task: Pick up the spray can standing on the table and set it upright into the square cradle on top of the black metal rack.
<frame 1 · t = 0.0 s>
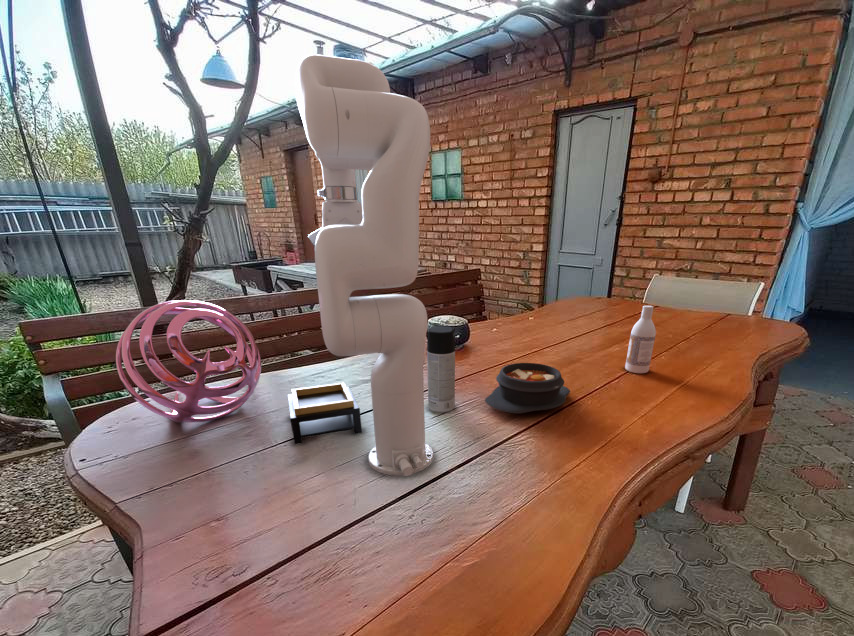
hand: (347, 269, 109), 31 cm above the table, tool pointing down, fingers open, 9 cm apart
rack: (325, 425, 97), on the table
bath foam: (636, 371, 133), on the table
spray can: (441, 408, 106), on the table
pink lattice ball: (209, 415, 101), on the table
casserole: (528, 402, 109), on the table
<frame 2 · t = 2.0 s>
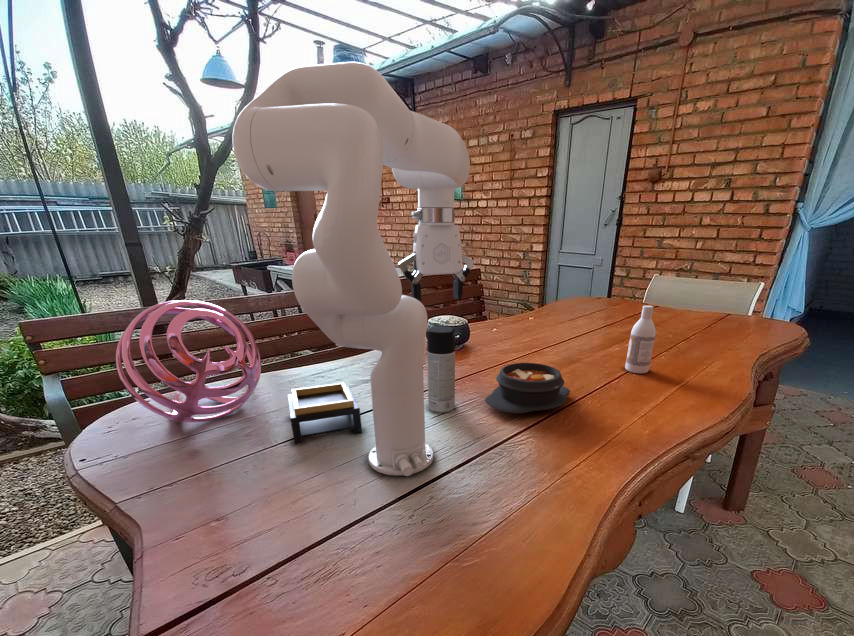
hand: (437, 300, 96), 26 cm above the table, tool pointing down, fingers open, 9 cm apart
nothing on the table moved.
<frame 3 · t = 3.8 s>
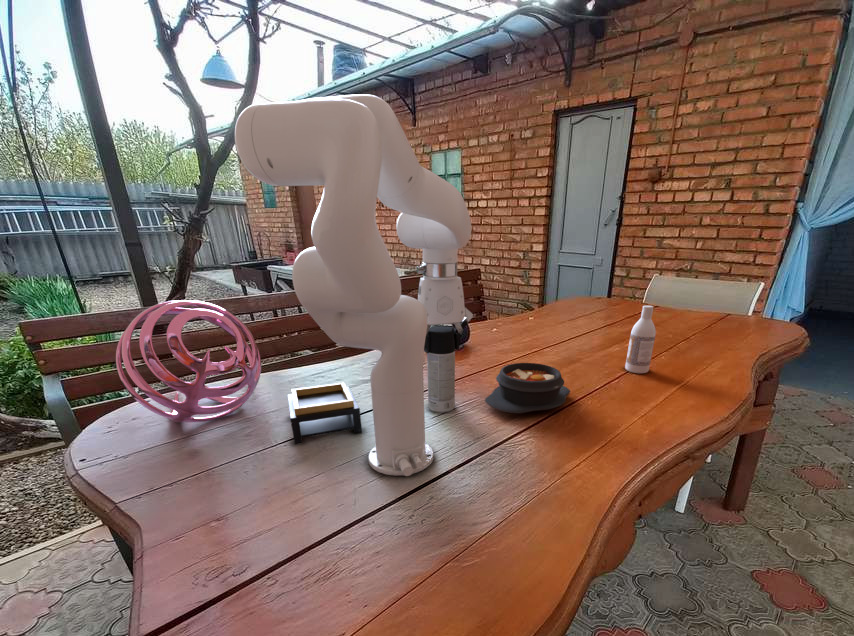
hand: (440, 349, 100), 15 cm above the table, tool pointing down, fingers closed on spray can, 6 cm apart
spray can: (441, 408, 106), on the table, touching gripper
everything else where it was.
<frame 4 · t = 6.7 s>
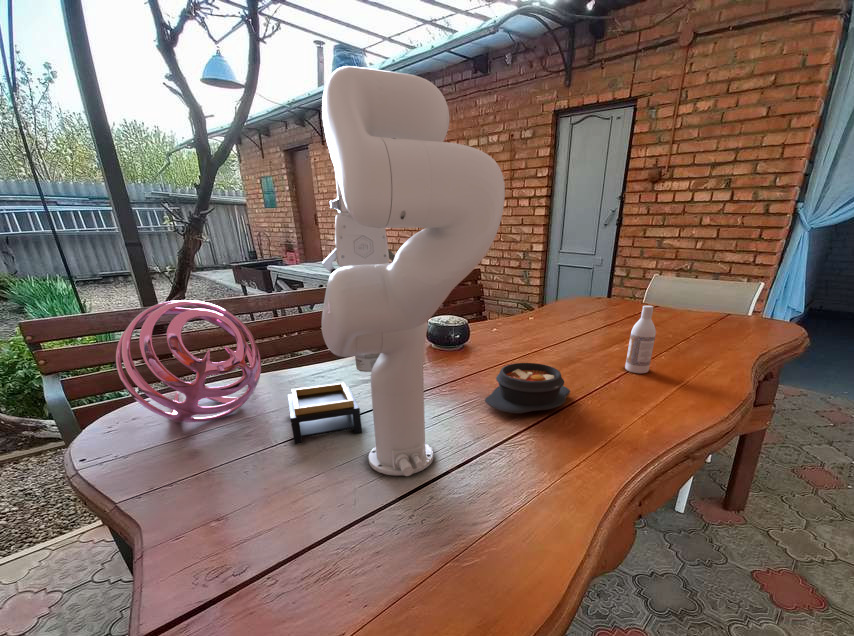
hand: (365, 300, 89), 28 cm above the table, tool pointing down, fingers closed on spray can, 6 cm apart
spray can: (371, 368, 96), point 12 cm above the table, touching gripper
everything else where it was.
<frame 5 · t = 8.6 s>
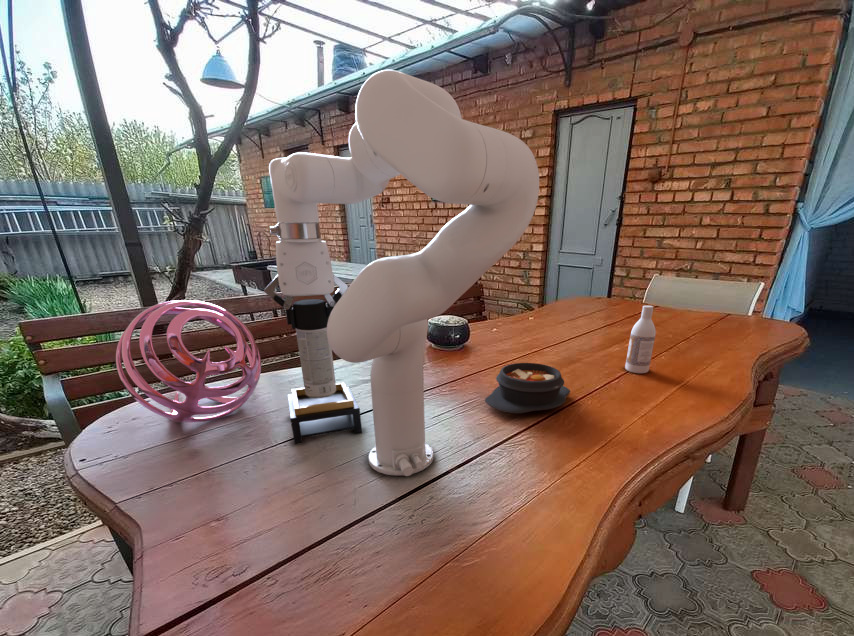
hand: (312, 325, 88), 23 cm above the table, tool pointing down, fingers closed on spray can, 6 cm apart
spray can: (321, 394, 94), point 8 cm above the table, touching gripper
everything else where it was.
when the fingers open (21 cm above the table, at t = 9.7 s): spray can stays where it is, resting on rack.
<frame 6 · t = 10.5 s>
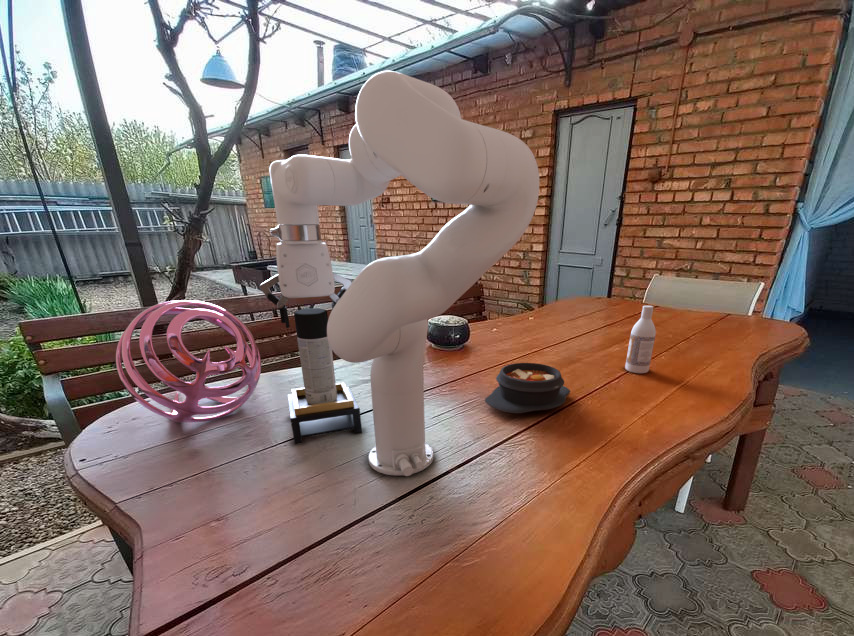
hand: (312, 324, 87), 23 cm above the table, tool pointing down, fingers open, 9 cm apart
spray can: (322, 401, 94), point 6 cm above the table, touching rack
everything else where it was.
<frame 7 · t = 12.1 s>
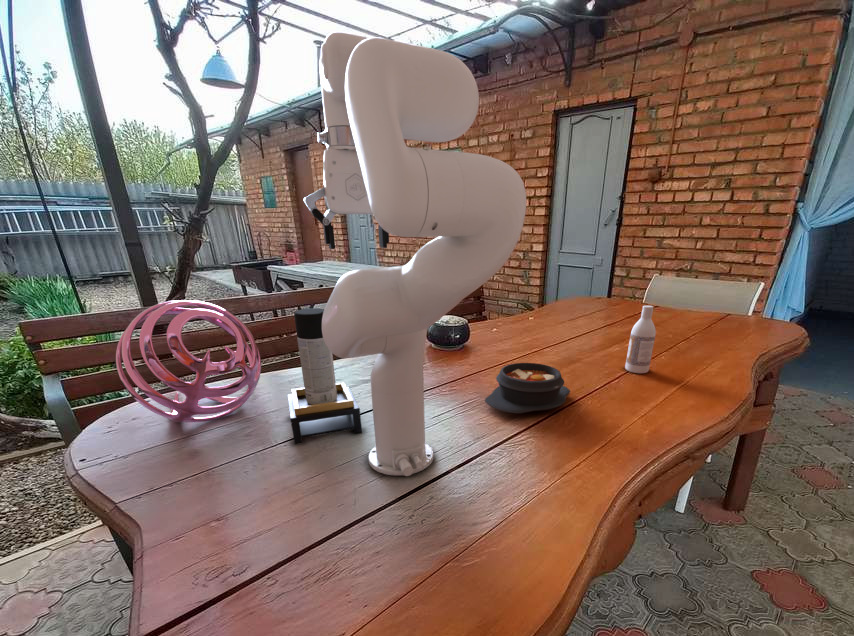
hand: (358, 248, 80), 38 cm above the table, tool pointing down, fingers open, 9 cm apart
nothing on the table moved.
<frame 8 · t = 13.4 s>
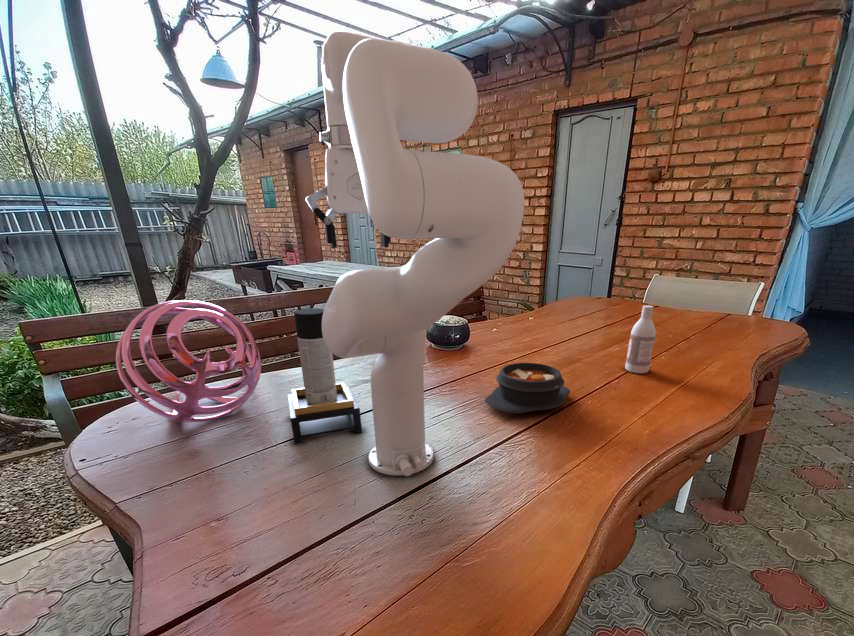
hand: (359, 247, 80), 38 cm above the table, tool pointing down, fingers open, 9 cm apart
nothing on the table moved.
at the end: spray can 0.0 cm off-centre on the rack, point 5.8 cm above the rack's base; spray can tilted 0° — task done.
